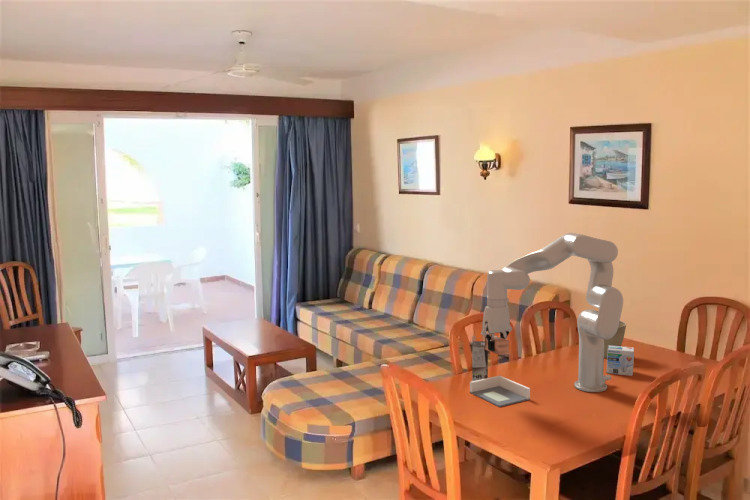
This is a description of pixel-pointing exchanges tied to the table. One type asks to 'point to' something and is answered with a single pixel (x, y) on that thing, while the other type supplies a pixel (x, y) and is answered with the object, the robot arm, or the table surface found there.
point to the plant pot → (615, 338)
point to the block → (499, 345)
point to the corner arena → (499, 391)
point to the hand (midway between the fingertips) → (496, 349)
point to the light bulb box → (620, 360)
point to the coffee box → (479, 361)
